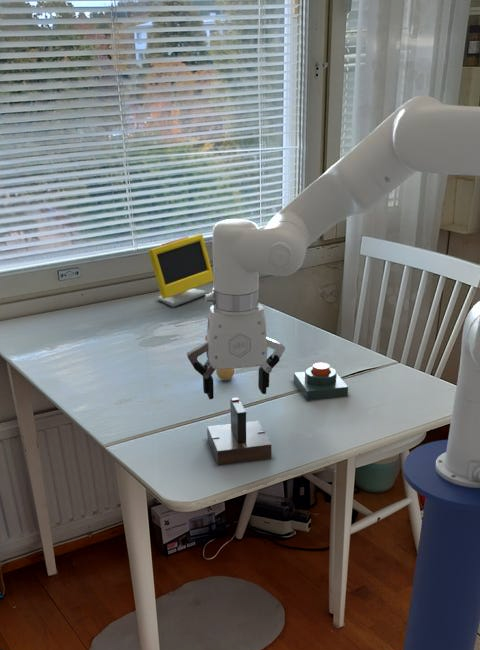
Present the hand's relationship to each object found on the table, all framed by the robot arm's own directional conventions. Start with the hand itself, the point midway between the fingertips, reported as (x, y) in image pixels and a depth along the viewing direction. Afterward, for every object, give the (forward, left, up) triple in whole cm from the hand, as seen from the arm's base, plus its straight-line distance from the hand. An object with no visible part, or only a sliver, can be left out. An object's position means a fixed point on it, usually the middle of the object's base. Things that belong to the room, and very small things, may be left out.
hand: (236, 393), depth 140 cm
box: (+22, -23, -11) cm, 34 cm away
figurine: (+33, -4, -12) cm, 35 cm away
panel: (0, 0, -11) cm, 11 cm away
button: (+22, -23, -8) cm, 33 cm away
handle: (0, 0, -8) cm, 8 cm away
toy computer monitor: (+89, -4, -12) cm, 90 cm away
